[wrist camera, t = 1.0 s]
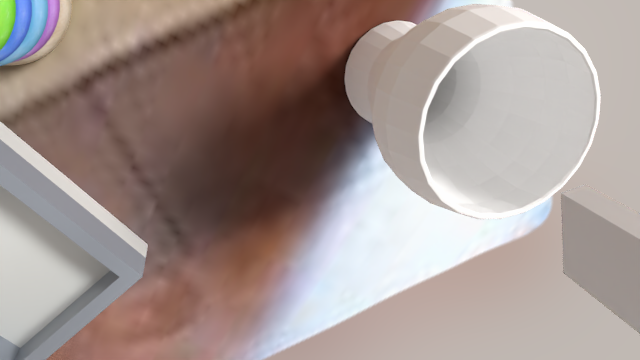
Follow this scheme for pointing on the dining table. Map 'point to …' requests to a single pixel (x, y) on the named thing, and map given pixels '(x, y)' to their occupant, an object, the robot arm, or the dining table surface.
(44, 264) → the panel
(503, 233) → the dining table surface
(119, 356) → the dining table surface
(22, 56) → the stacking toy
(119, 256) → the frame
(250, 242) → the dining table surface
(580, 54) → the cup
